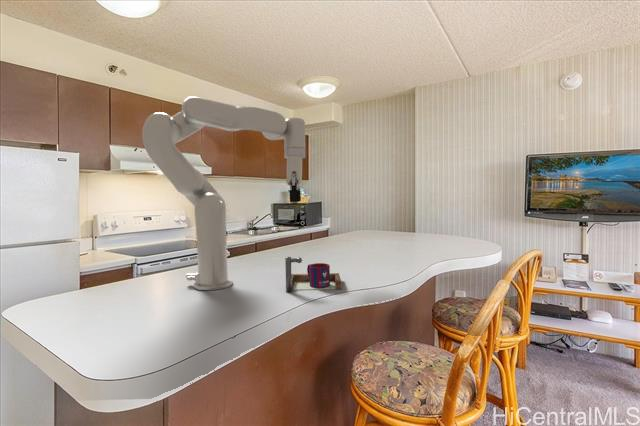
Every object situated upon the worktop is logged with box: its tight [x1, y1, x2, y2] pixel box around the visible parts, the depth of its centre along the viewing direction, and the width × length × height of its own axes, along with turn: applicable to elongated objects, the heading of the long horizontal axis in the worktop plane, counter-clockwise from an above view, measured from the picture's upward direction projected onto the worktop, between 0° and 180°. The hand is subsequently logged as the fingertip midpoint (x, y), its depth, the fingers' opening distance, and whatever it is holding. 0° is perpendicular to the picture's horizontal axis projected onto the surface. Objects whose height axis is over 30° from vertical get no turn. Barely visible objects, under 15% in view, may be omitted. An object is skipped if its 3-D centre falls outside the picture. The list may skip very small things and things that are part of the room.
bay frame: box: [291, 272, 342, 291], centre depth 109 cm, size 18×11×2 cm, turn 91°
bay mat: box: [292, 281, 337, 291], centre depth 108 cm, size 14×9×1 cm, turn 91°
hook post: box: [284, 256, 303, 294], centre depth 102 cm, size 5×2×11 cm, turn 91°
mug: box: [306, 262, 331, 288], centre depth 109 cm, size 7×10×7 cm
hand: (295, 201), depth 117 cm, fingers open, 9 cm apart
